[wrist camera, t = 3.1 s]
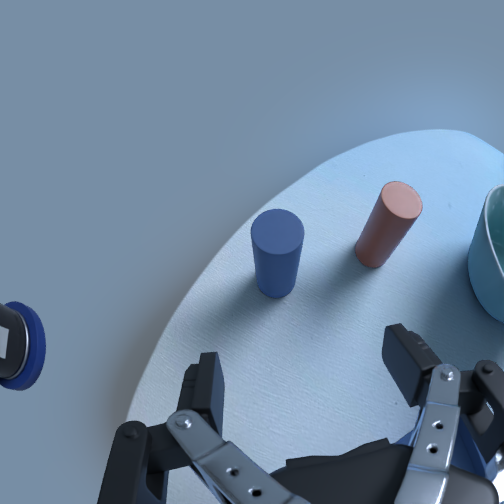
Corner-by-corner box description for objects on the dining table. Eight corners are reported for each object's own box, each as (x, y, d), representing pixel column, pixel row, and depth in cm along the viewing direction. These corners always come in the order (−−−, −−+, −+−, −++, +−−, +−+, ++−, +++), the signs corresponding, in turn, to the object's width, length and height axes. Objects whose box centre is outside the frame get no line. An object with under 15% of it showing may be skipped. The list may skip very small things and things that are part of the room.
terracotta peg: (367, 273, 28) (401, 226, 20) (348, 244, 29) (372, 189, 21) (394, 258, 28) (430, 208, 20) (374, 230, 30) (403, 175, 22)
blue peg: (267, 304, 27) (266, 264, 19) (250, 272, 28) (241, 221, 20) (302, 287, 28) (314, 240, 19) (283, 256, 29) (287, 201, 21)
